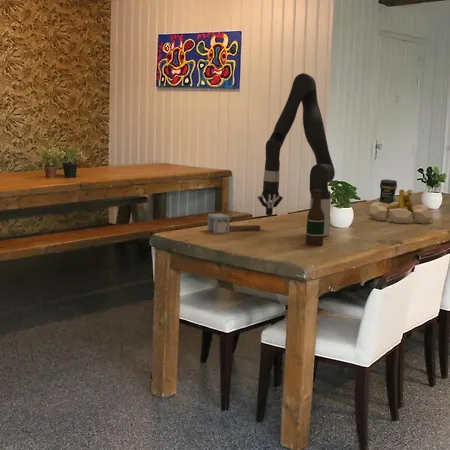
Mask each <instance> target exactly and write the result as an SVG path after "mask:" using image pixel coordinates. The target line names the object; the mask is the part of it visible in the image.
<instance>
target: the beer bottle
mask: <svg viewBox="0 0 450 450" xmlns="http://www.w3.org/2000/svg"><path fill="white" fill-rule="evenodd" d="M313 192H314V196H313V204H312V208H311V209H310V208H309V210H308V213H307V218H306V232H305V233H306V234H305V244H306V245H308V246H310V247H314V246H315V247H321V246H324V237H325V236H324V221H325V217H324V213H323V211H322V209H321V193H322V191H321V190H320V189H314V191H313Z"/></svg>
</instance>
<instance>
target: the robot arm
mask: <svg viewBox="0 0 450 450" xmlns="http://www.w3.org/2000/svg"><path fill="white" fill-rule="evenodd" d="M314 78H315V77H313V76H311V75H310V74H308V73H304V72H303V73H299V74H297V75H296V76H295V77H294V78H293V83H292V85H291V89H290V92H289V94H288V97H287V100H286V101H285V105H284V107H283V109H282V111H281V113H280V115H279V117H278V119H277V121H276V123H275V125H274V129H273V132H272V133H271V135H270V137H269V138H268V140H267V141H266V144H265V161H264V173H263V180H262V181H263V183H262V185H263V186H262V192H261V194H260V195H258V196H257V199H258V201H259V202H260V204H261V205H262V206H263V207H264V208H265V215H266V217H267V216H268V217H271V216H273V212H274V211H273V209H274V208H277V207H278V205H279V204H280V202H281V201H282V200H283V199H284V198H283V196H281V195H280V193H279V188H280V175H281V174H280V166H281V165H280V164H281V162H280V161H281V160H280V158H281V157H280V155H281V148H282V147H283V144H284V142H285V140H286V137H287V135H289V132H290V130H291V128H292V126H293V124H294V123H295V119H296V116H297V112H298V109H299V107H300V105H301V106H302V127H303V131H304V137H305V140H306V141H307V143H308V145H309V147H310V148H311V151H312V152H313V154H314V158H315V162H316V164H315V165H313V166H312V167H311V168H310V173H309V193H310V202H309V203H310V204H309V205H310V206H309V210H310V209H311V208H312V204H313V196H314V192H313V191H314V189H320V190H321V191H322V193H321V209H322V211H323V213H324V217H325V221H324V237H325V236H327V237H329V236H330V230H331V229H330V227H331V203H332V202H331V199H332V194H331V192H330V190H329V183H331V182H332V181H333V180H334V178H335V175H336V172H335V167H334V164H333V160H332V158H331V154H330V150H329V145H328V140H327V135H326V131H325V125H324V119H323V118H322V113H321V109H320V106H319V101H318V94H317V84H316V80H315V79H314Z"/></svg>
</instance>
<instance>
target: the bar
mask: <svg viewBox="0 0 450 450" xmlns="http://www.w3.org/2000/svg"><path fill="white" fill-rule="evenodd" d="M226 229H227V225H226ZM252 231H253V232H255V231H256V232H257V231H258V232H260V231H261V225H259V224H251V225H250V224H249V225H248V224H246V225H244V224H243V225H241V224H240V225H229V232H252Z"/></svg>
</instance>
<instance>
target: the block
mask: <svg viewBox="0 0 450 450" xmlns="http://www.w3.org/2000/svg"><path fill="white" fill-rule="evenodd" d="M226 226H227V222H225V221H224V220H222V221H218V225H217V234H218V233H226ZM214 229H215V222H214V225H213V230H212V231H213V232H214Z"/></svg>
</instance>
